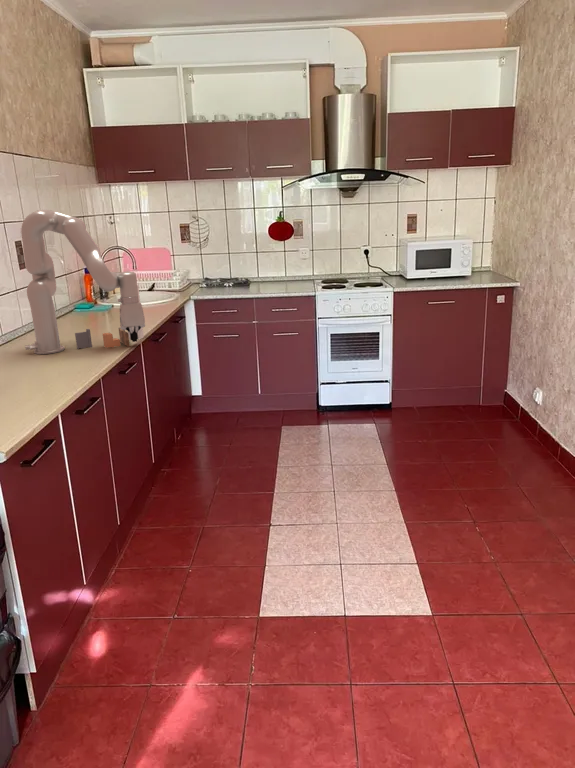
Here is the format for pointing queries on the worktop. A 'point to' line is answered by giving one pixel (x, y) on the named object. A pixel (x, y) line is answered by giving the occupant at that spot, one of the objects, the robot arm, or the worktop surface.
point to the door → (124, 337)
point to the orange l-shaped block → (110, 340)
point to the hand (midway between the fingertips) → (134, 341)
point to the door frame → (84, 339)
